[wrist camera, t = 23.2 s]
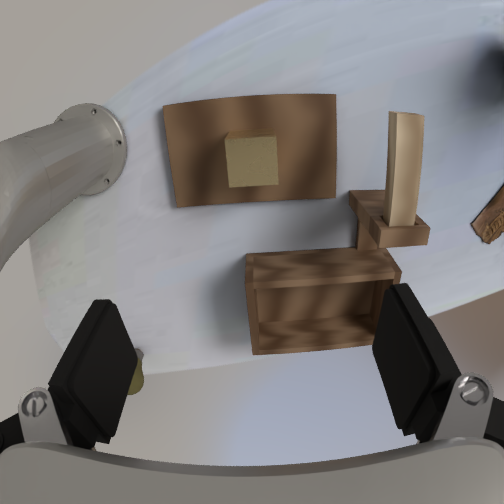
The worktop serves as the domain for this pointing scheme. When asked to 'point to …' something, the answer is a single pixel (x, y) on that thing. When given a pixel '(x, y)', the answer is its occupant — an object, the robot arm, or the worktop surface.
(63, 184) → the robot arm
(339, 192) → the worktop surface
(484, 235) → the wooden fragment
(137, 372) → the light bulb
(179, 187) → the lid
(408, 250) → the worktop surface
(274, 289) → the wooden box
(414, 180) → the wooden key
